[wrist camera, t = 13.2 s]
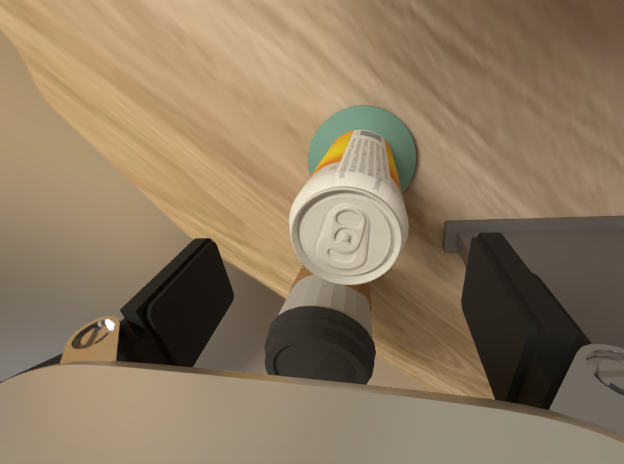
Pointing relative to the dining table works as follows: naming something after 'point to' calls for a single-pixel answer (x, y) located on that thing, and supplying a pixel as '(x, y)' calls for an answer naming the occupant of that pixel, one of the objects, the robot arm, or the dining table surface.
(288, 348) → the coffee cup
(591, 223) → the screen
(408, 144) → the coaster
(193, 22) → the dining table surface
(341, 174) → the beer can
